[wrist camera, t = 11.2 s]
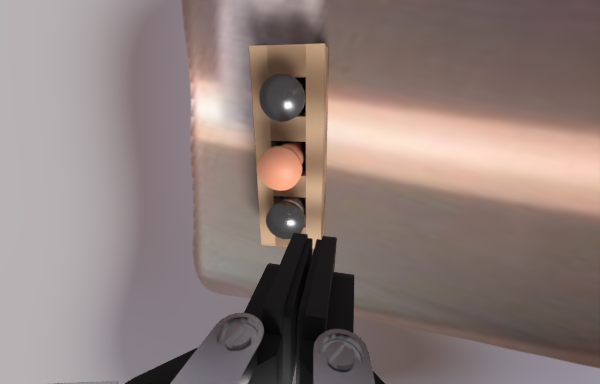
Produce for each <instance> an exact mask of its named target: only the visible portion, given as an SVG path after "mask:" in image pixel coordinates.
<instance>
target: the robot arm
mask: <svg viewBox="0 0 600 384" xmlns="http://www.w3.org/2000/svg"><path fill="white" fill-rule="evenodd" d="M336 241H337V238H336V237H327V236H322V240H321V239H317V240H316V244H315V248H314V251H313V255H312V246H313V239H312V238H308V234H301V233H293V235H292V237H291V240H290V242H289V244H288V247H287V249H286V252H285V254H284V256H283V259H282V261H281V264H280V265H278V264H271V263H269V264H268V265H267V267H266V269H265V271H264V273H263V275H262V277H261V279H260V281H259V283H258V285H257V287H256V289H255V291H254V293H253V295H252V298H251V300H250V302H249V304H248V306H247V308H246V310H245V312H244V313H235V314H232V315H229V316H227V317H225V318H223V319H222V320H221V321H219V322H218V323H217V324H216V326H215V327H214V328H213V329H212V331H211V332H210V333H209V334H208V336H207V337H206V338H205V340H204V341H203V342H202V344H201V345H200V346H199V347H198V348H196V349H194V350H192V351H189V352H187V353H185V354H183V355H181V356H179V357H177V358H175V359H173V360H170V361H168V362H166V363H164V364H163V365H160V366H158V367H156V368H154V369H152V370H150V371H148V372H145V373H143V374H141V375H139V376H137V377H135V378H133V379H132V380H130V381H128V382H127V383H125V384H292V381H293V376H294V371H295V366H296V384H385V383H384V382H383V381H382V380H381V379H380V378H379V377H378V376H377V375H376V374H375V373H374V372H373V371H372V366H371V361H370V356H369V352H368V350H367V347H366V345H365V343H364V342H363V341H362V340H361V338H359V337H358V336H357V335H356V334H354V333H353V319H354V275H352V274H344V273H337V272H334V265H335V253H336ZM57 384H118V381H108V382H107V381H106V382H81V383H57Z"/></svg>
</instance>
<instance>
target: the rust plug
mask: <svg viewBox="0 0 600 384" xmlns="http://www.w3.org/2000/svg"><path fill="white" fill-rule="evenodd" d="M305 159H306V148H305V146H304V145H303V143H301V142H299V141H286V142H285V143H284V144H283V145H281V146H274V147H272V148H270V149H268V150H267V151H265V152H264V153H263V154H262V155H261V157H260V159H259V161H258V174H259V177H260V178H261V180H262V181H263V183H264V184H265V185H266V186H268V187H269V188H271V189H274V190H279V191H283V190H288V189H290V188H292V187H293V186H295V185H296V184H297V182H298V181H299V179H300V177H301V175H302V169H303V168H302V164H303V162H304V161H305Z"/></svg>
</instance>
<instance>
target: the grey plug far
mask: <svg viewBox="0 0 600 384" xmlns="http://www.w3.org/2000/svg"><path fill="white" fill-rule="evenodd" d="M305 209H306V198H304V197H287V196H283V198H282V199H281V201H280V202H277V203H275V204H274V205H273V206H272V207H271V208H270V210H269V211H268V213H267V215H266V225H267V227H268V229H269V231H270V232H271V233H272V234H273V235H275V236H276V237H278V238H281V239H291V237H292V235H293V233H301V232H302V230H303V228H304V225H305V215H304V211H305Z"/></svg>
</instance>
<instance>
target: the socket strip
mask: <svg viewBox="0 0 600 384" xmlns="http://www.w3.org/2000/svg"><path fill="white" fill-rule="evenodd" d="M249 56H250V72H251V87H252V103H253V119H254V135H255V151H256V167H257V182H258V198H259V214H260V230H261V245H270V246H282V247H288V244H289V242H290V240H291V239H281V238H278V237H276V236H275V235H273V234H272V233H271V232H270V231H269V229H268V227H267V225H266V215H267V213H268V211H269V210H270V208H271V207H272V206H273V205H274V204H275V203H277V202H280V201H281V199H282V198H283V196H287V197H304V198H306V209H305V211H304V215H305V225H304V228H303V230H302V232H301V234H308V238H312V239H313V246H312V249H314V248H315V244H316V240H317V239H321V240H322V236H323V235H324V230H325V192H326V153H327V115H328V76H329V49H328V47H327V46H326V44H325V43H321V44H290V45H259V46H249ZM275 74H287V75H291V76H293V77H294V78H306V112H300V114H299V115H298V116H296V117H295V118H293V119H292V120H289V121H286V122H278V121H275V120H273V119H271V118H269V117H268V116H267V115H266V114H265V113H264V111H263V110H262V108H261V105H260V102H259V92H260V89H261V86H262V84H263V83H264V81H265V80H266V79H267V78H269V77H270V76H272V75H275ZM282 141H299V142H306V164H302V168H303V169H302V175H301V177H300V179H299V181H298V182H297V184H296V185H295V186H293V187H292V188H290V189H288V190H283V191H279V190H274V189H271V188H269V187H268V186H266V185H265V184H264V183H263V181H262V180H261V178H260V177H259V174H258V161H259V159H260V157H261V155H262V154H263V153H264V152H265V151H267V150H268V149H270V148H272V147H274V146H281V145H282Z"/></svg>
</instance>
